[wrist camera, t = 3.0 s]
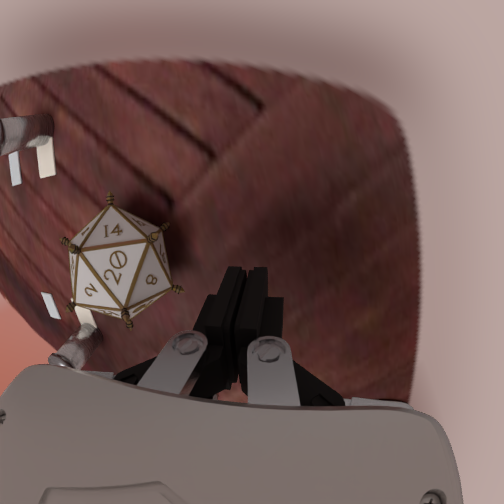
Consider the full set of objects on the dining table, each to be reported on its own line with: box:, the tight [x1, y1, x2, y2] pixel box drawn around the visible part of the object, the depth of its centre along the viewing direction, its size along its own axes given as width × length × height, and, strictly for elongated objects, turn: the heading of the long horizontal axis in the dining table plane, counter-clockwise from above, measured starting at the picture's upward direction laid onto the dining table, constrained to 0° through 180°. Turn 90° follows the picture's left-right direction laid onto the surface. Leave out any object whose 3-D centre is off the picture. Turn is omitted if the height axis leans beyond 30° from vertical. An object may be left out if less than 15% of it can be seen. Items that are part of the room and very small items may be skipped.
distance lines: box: [9, 137, 97, 328], centre depth 22 cm, size 27×22×1 cm
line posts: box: [0, 114, 103, 370], centre depth 19 cm, size 4×26×7 cm, turn 2°
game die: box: [60, 191, 185, 330], centre depth 17 cm, size 9×8×10 cm
